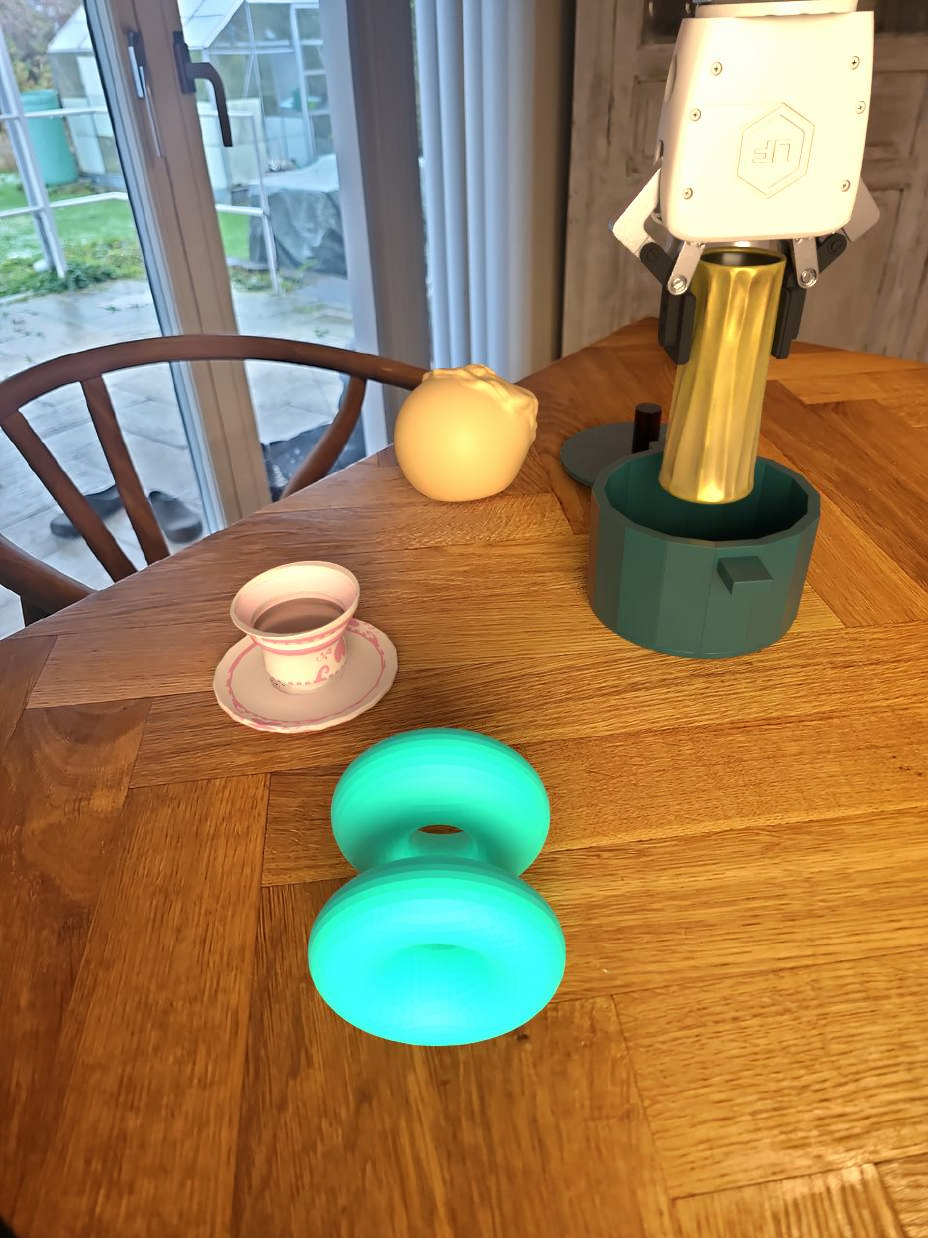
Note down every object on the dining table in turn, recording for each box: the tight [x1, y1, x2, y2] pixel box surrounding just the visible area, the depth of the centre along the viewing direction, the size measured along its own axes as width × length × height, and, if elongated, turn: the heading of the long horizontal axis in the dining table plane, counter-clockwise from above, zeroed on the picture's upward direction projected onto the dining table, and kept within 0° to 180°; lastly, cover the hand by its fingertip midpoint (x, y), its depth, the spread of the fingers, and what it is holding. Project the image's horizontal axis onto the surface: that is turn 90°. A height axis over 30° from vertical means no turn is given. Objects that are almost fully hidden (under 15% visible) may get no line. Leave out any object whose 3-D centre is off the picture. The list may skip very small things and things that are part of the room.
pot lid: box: [559, 402, 668, 489], centre depth 78 cm, size 16×16×6 cm
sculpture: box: [393, 363, 539, 503], centre depth 74 cm, size 11×12×11 cm
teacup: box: [212, 560, 399, 734], centre depth 54 cm, size 12×12×6 cm
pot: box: [585, 441, 822, 660], centre depth 59 cm, size 15×20×8 cm
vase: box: [658, 246, 786, 504], centre depth 52 cm, size 6×6×14 cm
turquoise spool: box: [307, 727, 567, 1047], centre depth 36 cm, size 10×10×10 cm
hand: (724, 351), depth 51 cm, fingers closed on vase, 5 cm apart
